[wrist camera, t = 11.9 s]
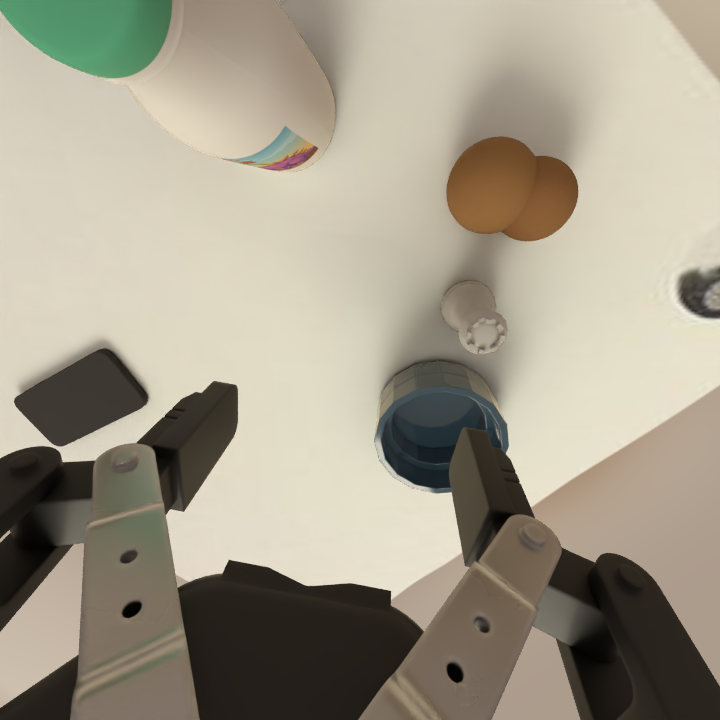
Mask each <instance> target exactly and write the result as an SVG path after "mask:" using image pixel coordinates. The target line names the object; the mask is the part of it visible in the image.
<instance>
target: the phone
mask: <svg viewBox="0 0 720 720" xmlns="http://www.w3.org/2000/svg"><path fill="white" fill-rule="evenodd" d="M147 401H148V399H147V396H146V394H145V393H144V392H143V390H142V389H141V388H140V387H139V385H138V384H137V383H136V382H135V380H134V379H133V378H132V377H131V376H130V374H129V373H128V372H127V371H126V369H125V368H124V367H123V366H122V365H121V363H120V362H119V361H118V360H117V358H116V357H115V356H114V355H113V354H112V353H111V352H109V351H108V350H104V349H101V350H98V351H96V352H94V353H92V354H90V355H88V356H87V357H85V358H83V359H81V360H80V361H78V362H76V363H74V364H73V365H71V366H69V367H67V368H66V369H64V370H62V371H60V372H59V373H57V374H55V375H53V376H52V377H50V378H48V379H46V380H44V381H42V382H40V383H39V384H37V385H35V386H33V387H32V388H31V389H29V390H27V391H25V392H24V393H22V394H20V395H19V396H17V397H16V398H15V400H14V403H15V405H16V407H17V408H18V409H19V410H20V411H21V412H22V414H23V415H24V416H25V417H26V418H27V419H28V420H29V421H30V422H31V423H32V424H33V425H34V426H35V427H36V428H37V429H38V430H39V431H40V432H41V433H42V434H43V435H44V436H45V437H46V438H47V439H48V440H49V441H50V442H51V443H52V444H54V445H56V446H65V445H67V444H69V443H71V442H73V441H76V440H77V439H80V438H82V437H84V436H86V435H88V434H90V433H92V432H94V431H96V430H98V429H100V428H102V427H104V426H106V425H108V424H110V423H112V422H114V421H116V420H118V419H120V418H122V417H124V416H126V415H129V414H131V413H133V412H135V411H137V410H139V409H141V408H142V407H143V406H144V405H146V403H147Z"/></svg>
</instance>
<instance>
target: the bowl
mask: <svg viewBox="0 0 720 720" xmlns="http://www.w3.org/2000/svg"><path fill="white" fill-rule="evenodd" d="M464 427H467V428H473V429H478V430H484V431H487V433H488V436H489V438H490V441H491V444H492V446H493V447H496V448H500V449H501V450H502V451H503V452H504V453H505V454H506V452H507V449H508V447H509V443H508V431H507V424H506V421H505V419H504V417H503V415H502V413H501V410H500V408H499V406H498V404H497V402H496V399H495V397H494V395H493V393H492V392H491V390H490V389H489V387H488V386H487V384H486V383H485V381H484V379H483V378H482V377H481V376H479V375H478V374H476V373H474V372H473V371H471V370H470V369H468V368H467V367H465V366H464V365H460V364H454V363H449V362H444V361H433V362H427V363H420V364H415V365H413V366H411V367H409V368H408V369H406V370H404V371H402V372H401V373H399V374H397V375H395V376H394V377H393V379H392V380H391V381H390V383H389V384H388V385H387V386H386V388H385V389H384V390H383V392H382V394H381V398H380V403H379V408H378V413H377V422H376V430H375V439H374V442H375V446H376V450H377V453H378V457H379V461H380V462H381V463H382V464H383V466H384V467H385V468H386V469H387V470H388V472H389V473H390V474H391V475H392V477H394V478H395V479H397V480H399V481H400V482H402V483H404V484H406V485H407V486H409V487H411V488H413V489H417V490H422V491H427V492H431V493H447V492H452V491H451V485H450V479H449V469H450V463H451V459H452V456H453V453H454V451H455V448H456V445H457V442H458V439H459V436H460V433H461V430H462V429H463V428H464Z"/></svg>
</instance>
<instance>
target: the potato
mask: <svg viewBox="0 0 720 720" xmlns="http://www.w3.org/2000/svg"><path fill="white" fill-rule="evenodd" d="M577 198H578V184H577V180H576V177H575V175H574V173H573V172H572V170H571V169H570V167H569V166H568V165H566V164H565V163H564V162H562V161H561V160H558V159H556V158H553V157H548V156H537V157H534V155H533V153H532V152H531V151H530V149H529V148H528V147H527V146H525V145H524V144H523V143H521V142H520V141H517V140H515V139H512V138H508V137H492V138H488V139H485V140H482V141H480V142H478V143H476V144H474V145H473V146H471V147H470V148H468V149H467V150H466V151H465V152H464V153H463V154H462V155H461V156H460V158H459V159H458V160H457V162H456V163H455V165H454V167H453V168H452V171H451V173H450V176H449V179H448V183H447V202H448V206H449V209H450V211H451V213H452V215H453V216H454V218H455V219H456V221H457V222H458V223H459V224H460V225H462V226H463V227H464V228H466V229H468V230H470V231H472V232H476V233H482V234H492V233H497V232H501V231H502V232H503V233H504V234H506V235H507V236H509V237H510V238H513V239H516V240H520V241H535V240H539V239H543V238H545V237H548V236H550V235H551V234H553V233H555V232H556V231H557V230H559V229H560V228H561V227H562V226H563V225H564V224H565V223H566V222H567V220H568V219H569V218H570V216H571V214H572V213H573V211H574V209H575V206H576V203H577Z"/></svg>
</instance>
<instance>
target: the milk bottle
mask: <svg viewBox="0 0 720 720" xmlns="http://www.w3.org/2000/svg"><path fill="white" fill-rule="evenodd" d="M0 11H1V12H2V13H3V15H4V16H5V17H6V19H7V20H8V21H9V22H10V23H11V24H12V26H13V27H14V28H15V29H16V30H17V31H18V32H19V33H20V34H21V35H22V36H23V37H24V38H26V39H27V40H28V41H29V42H30V43H32V44H33V45H34V46H35V47H37V48H38V49H39V50H41V51H42V52H43V53H45V54H47V55H48V56H50V57H51V58H53V59H55V60H57V61H59V62H61V63H63V64H66V65H68V66H70V67H72V68H74V69H77V70H79V71H82V72H85V73H88V74H91V75H94V76H97V77H99V78H101V79H103V80H106V81H108V82H111V83H115V84H120V85H126V86H127V87H128V89H129V90H130V92H131V93H132V95H133V96H134V97H135V99H136V100H137V101H138V103H139V104H140V105H141V106H142V108H143V109H144V110H145V111H146V112H147V113H148V115H149V116H150V117H151V118H152V119H153V120H154V121H155V122H156V123H157V124H159V125H160V126H161V127H162V128H163V129H164V130H165V131H167V132H168V133H169V134H171V135H172V136H173V137H175V138H176V139H178V140H179V141H181V142H182V143H184V144H186V145H188V146H190V147H192V148H194V149H196V150H198V151H200V152H202V153H205V154H208V155H211V156H214V157H217V158H221V159H224V160H228V161H232V162H236V163H240V164H245V165H249V166H254V167H259V168H263V169H268V170H273V171H279V172H295V171H299V170H303V169H305V168H307V167H309V166H311V165H312V164H313V163H315V162H316V161H317V160H318V159H319V158H320V157H321V156H322V155H323V153H324V152H325V150H326V149H327V147H328V145H329V143H330V141H331V138H332V135H333V131H334V126H335V102H334V97H333V93H332V90H331V87H330V84H329V82H328V80H327V78H326V76H325V74H324V72H323V70H322V69H321V67H320V66H319V64H318V62H317V61H316V59H315V58H314V56H313V54H312V53H311V51H310V50H309V48H308V47H307V45H306V43H305V42H304V40H303V39H302V37H301V36H300V34H299V33H298V31H297V29H296V28H295V26H294V25H293V23H292V22H291V20H290V19H289V17H288V16H287V14H286V13H285V11H284V10H283V8H282V7H281V6H280V4H279V3H278V2H277V0H0Z"/></svg>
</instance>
